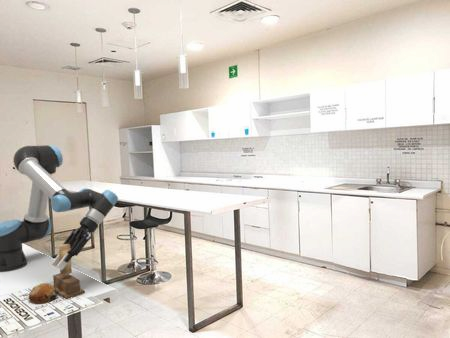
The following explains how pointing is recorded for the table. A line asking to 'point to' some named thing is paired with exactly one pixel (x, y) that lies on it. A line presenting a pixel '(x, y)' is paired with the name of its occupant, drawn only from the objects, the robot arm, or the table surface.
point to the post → (62, 253)
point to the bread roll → (42, 293)
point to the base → (67, 286)
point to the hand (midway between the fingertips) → (56, 267)
